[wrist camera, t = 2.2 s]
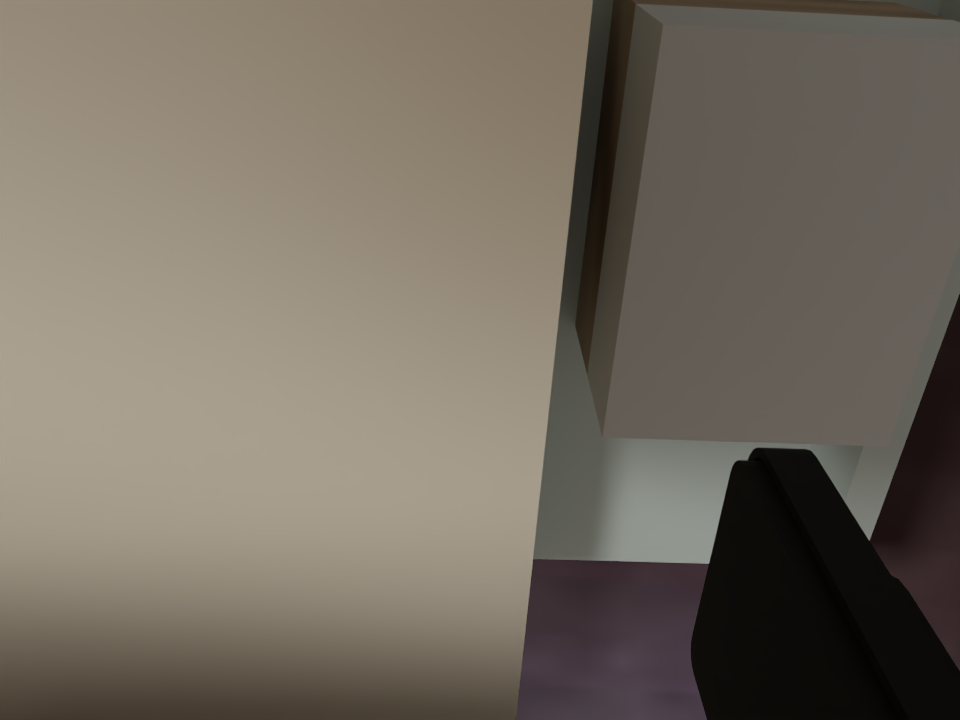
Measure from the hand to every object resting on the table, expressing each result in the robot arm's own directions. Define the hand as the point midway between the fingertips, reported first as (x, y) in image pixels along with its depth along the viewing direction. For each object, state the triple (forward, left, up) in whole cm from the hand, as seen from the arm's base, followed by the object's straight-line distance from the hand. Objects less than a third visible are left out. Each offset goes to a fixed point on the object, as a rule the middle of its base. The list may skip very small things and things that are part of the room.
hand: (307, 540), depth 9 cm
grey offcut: (-1, +8, -10) cm, 12 cm away
